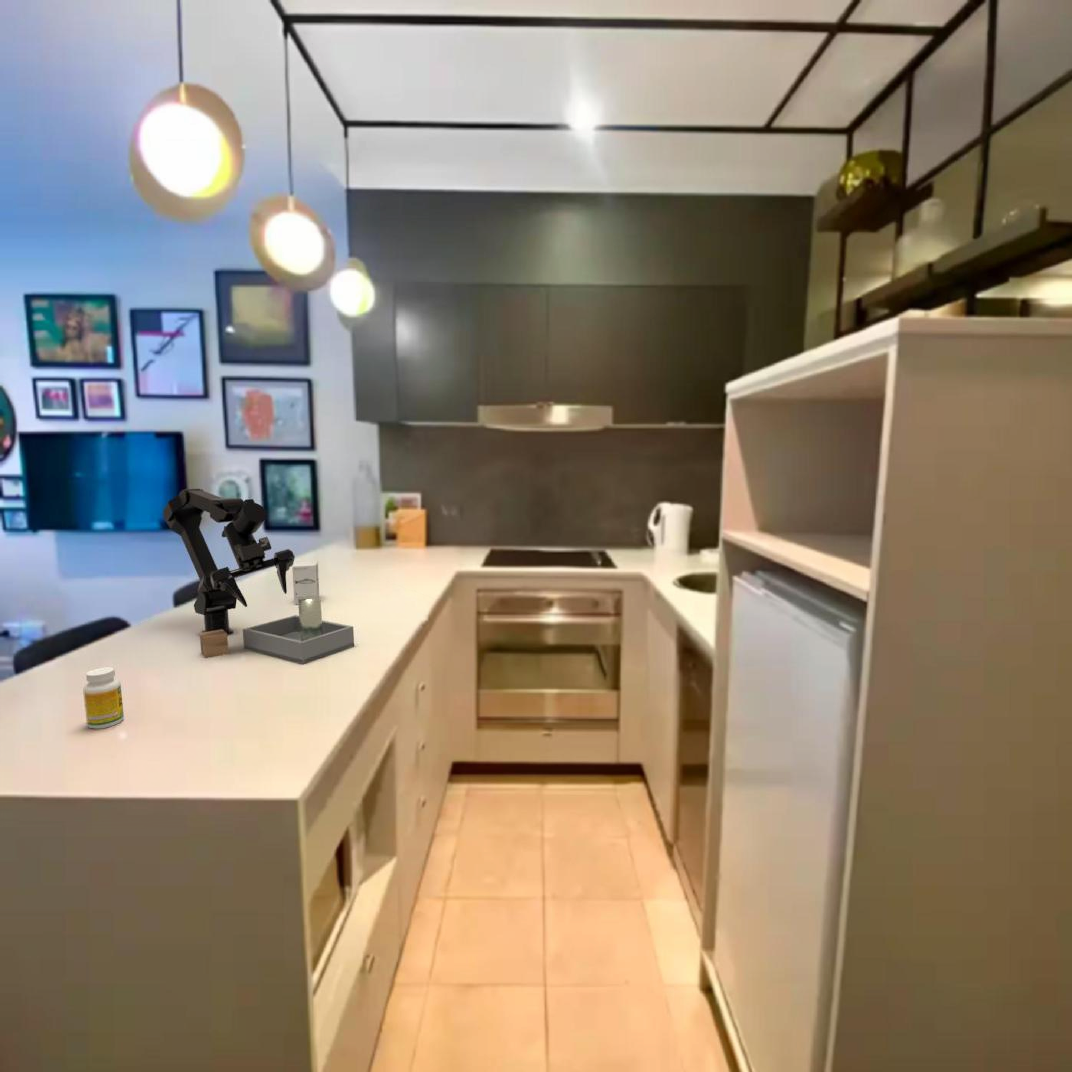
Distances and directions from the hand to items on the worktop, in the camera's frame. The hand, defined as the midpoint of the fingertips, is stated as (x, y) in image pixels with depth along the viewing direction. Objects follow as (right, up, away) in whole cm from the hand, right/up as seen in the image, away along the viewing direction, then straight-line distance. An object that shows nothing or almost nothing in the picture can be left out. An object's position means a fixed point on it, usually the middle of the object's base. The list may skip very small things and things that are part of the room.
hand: (266, 599), depth 144 cm
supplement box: (-9, -6, +50) cm, 51 cm away
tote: (+7, -12, +3) cm, 14 cm away
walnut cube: (-12, -13, 0) cm, 18 cm away
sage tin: (+11, -11, +1) cm, 16 cm away
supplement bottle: (-12, -18, -38) cm, 43 cm away
